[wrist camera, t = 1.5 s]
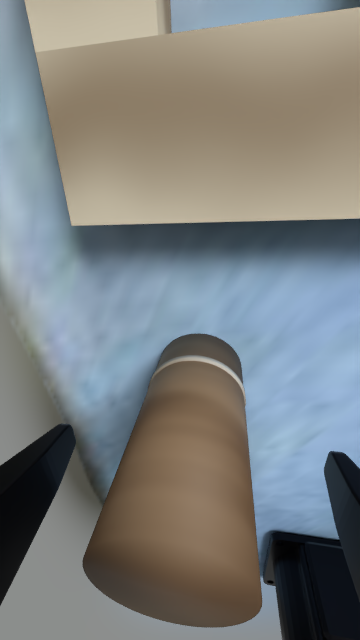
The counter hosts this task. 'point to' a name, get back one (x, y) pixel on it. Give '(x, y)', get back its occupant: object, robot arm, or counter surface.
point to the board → (200, 113)
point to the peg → (183, 497)
